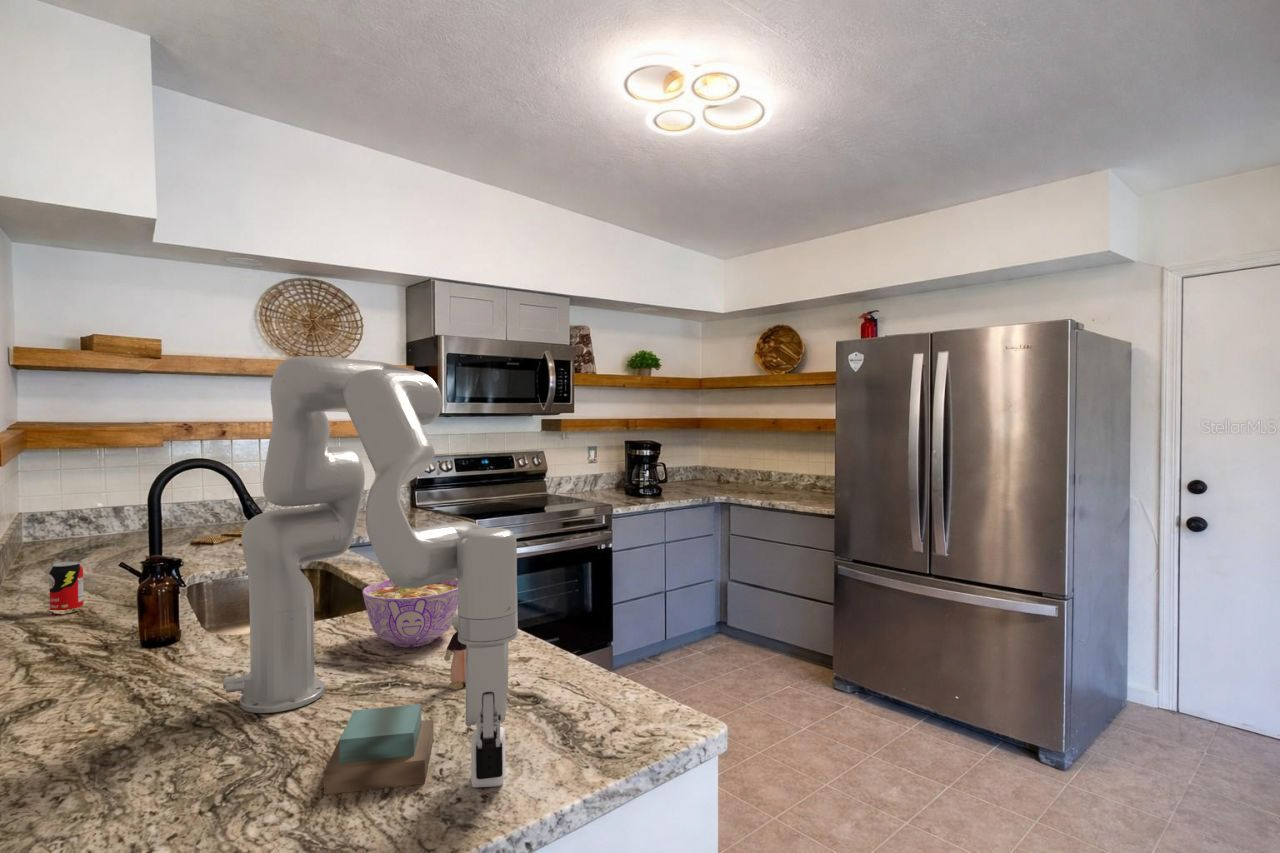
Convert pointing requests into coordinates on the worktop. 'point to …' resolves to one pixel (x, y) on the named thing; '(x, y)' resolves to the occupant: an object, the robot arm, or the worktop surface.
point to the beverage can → (66, 585)
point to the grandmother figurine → (456, 658)
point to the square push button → (380, 750)
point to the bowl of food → (411, 611)
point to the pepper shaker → (474, 742)
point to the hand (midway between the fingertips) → (489, 765)
